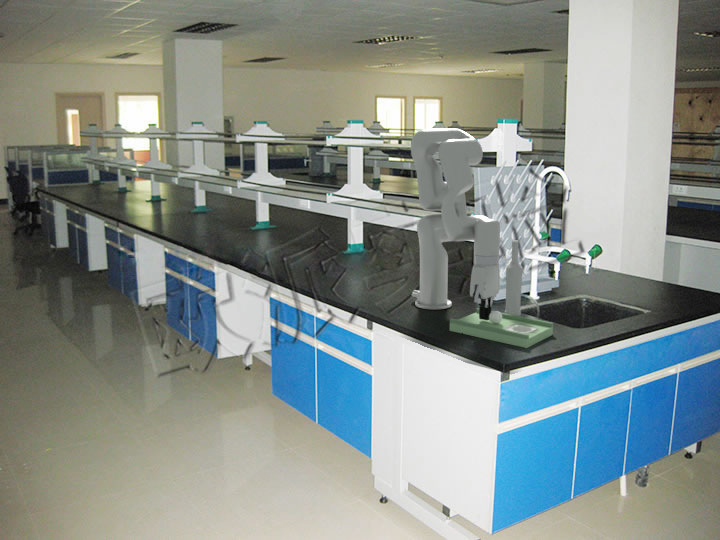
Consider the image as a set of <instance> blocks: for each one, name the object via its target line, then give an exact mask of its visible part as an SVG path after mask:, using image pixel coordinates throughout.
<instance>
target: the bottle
mask: <svg viewBox="0 0 720 540" xmlns="http://www.w3.org/2000/svg"><path fill="white" fill-rule="evenodd" d="M519 242H520V241H519V240H517V239H515V240H511V261H510V262H509V264H507V265H506V267H505V270H506V272H505V310H504V313H506V314H511V315H516V316H521V315H522V313H521V301H522V285H523V283H522V282H523V268H524V267H523V266H522V265H521V264H520V263H519V244H520V243H519Z"/></svg>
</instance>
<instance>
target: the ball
mask: <svg viewBox="0 0 720 540" xmlns="http://www.w3.org/2000/svg"><path fill="white" fill-rule="evenodd" d="M491 311H492V312H491V313H490V315H489V320H490V322H491V323H493V324H498V323H500V322H501V321H502V314H501V313H502V312H500V311H498V310H491Z"/></svg>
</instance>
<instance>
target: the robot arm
mask: <svg viewBox="0 0 720 540" xmlns="http://www.w3.org/2000/svg"><path fill="white" fill-rule="evenodd" d="M410 153H411V157H412V161H413V163H414V167H415V170H416V179H417V193H418V200H419V205H420V207H421V208H422V210H424V211H440V212H441V213H436V214H428V215H425V216H422V217H421V218H420V219H419V220H418V222H417V225H416V228H417V229H416V231H417V236H418V243H419V290H417V289H414V290H413V291H412V292H411V296H412V297H414V298H416V300H415V302H414V304H415V306H416V308H420V309H423V310H433V311H435V310H445V309H449V308H451V307H452V304H453V303H452V301H451V300H449V299H448V282H449V281H448V276H449V275H448V273H449V269H448V268H449V266H448V265H449V264H448V263H449V256H448V252H447V250H446V249H445V247H444V245H443V243H447V242H466V241H467V242H468V241H473V266H472V268H471V275H470V282H469V283H470V285H469V296H470V298H474V299H473V302H474V304H477V305H478V308H479V318H480V319H483V320H489V315H490V313H491V311H492V306H493V301H494V299H495V298H497V295H498V294H499V292H500V280H501V279H500V278H501V277H500V267H499V266H500V243H501V242H500V241H501V240H500V239H501V222H500V221H499V220H498V219H495V218H489V217H487V216H486V215H483V214H481V215H480V214H479V215H478V214H477V215H468V213H467V201H466V199H467V198H466V194H465V193H467V192H468V191H470V190H471V189H472V188H473V187H474V185H475V179H474V176H473V172H472V169H471V166H476V165H478V164H480V163H481V162H482V160H483V155H484V153H483V148H482V146H481V143H480V142H479V141H478V139H476V138H475V137H474V136H472V135H470V134H469V133H467V132H465V131H464V130H462V129H460V128H425V129H421V130H419V131H417V132H415V134H414V135H413V136H412V139H411V141H410ZM434 155H438V158H439V161H440V163H439V161H438V160H437V159H436V157H434ZM443 176H444V178H443ZM444 180H445V181H444Z"/></svg>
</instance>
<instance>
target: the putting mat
mask: <svg viewBox="0 0 720 540" xmlns="http://www.w3.org/2000/svg"><path fill="white" fill-rule="evenodd" d="M475 311H476V312H473V313H471V314H469V315H466V316H463V317H461V318H459V319H457V318H449V331H450V332H455V333H459V334H462V333H463V334H464V335H468V336H473V337H477V338H481V339H485V340H489V341H493V342H498V343H502V344H503V343H504V344H508V345H512V346H517V347H519V348H520V347H521V348H525V349H527V348H529V347H531V346H533V345H536V344H537V343H539V342H541V341H543V340H545V339H547V338H549V337H551V336H553V334H554V333H553V332H554V322H552V321H551V322H550V321H547V320H542V319H540V320H539V319H536V318H530V317H525V316H521V315H520V316H516V315H511V314H506V313H505V312H500V313H501V314H502V321H501V322H500V323H498V324H493V323H491V322H490V320H483V319H480V318H479V307H477V308H476V310H475ZM492 311H493V310H491V312H492Z"/></svg>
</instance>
